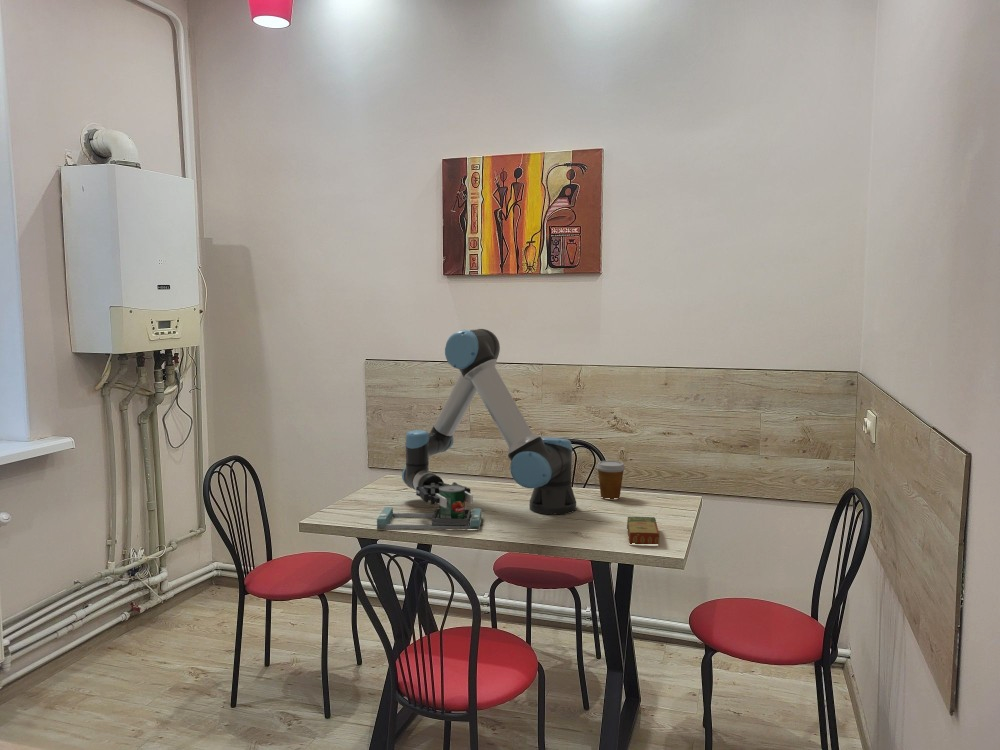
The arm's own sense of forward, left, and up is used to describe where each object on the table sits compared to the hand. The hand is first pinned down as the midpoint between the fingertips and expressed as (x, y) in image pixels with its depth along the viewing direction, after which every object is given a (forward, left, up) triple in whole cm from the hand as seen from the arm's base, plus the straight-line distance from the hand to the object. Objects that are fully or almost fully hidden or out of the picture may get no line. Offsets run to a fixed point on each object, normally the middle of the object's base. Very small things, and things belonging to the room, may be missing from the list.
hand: (458, 501), depth 226 cm
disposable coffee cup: (-49, -36, -8) cm, 61 cm away
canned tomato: (+2, -4, -8) cm, 9 cm away
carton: (-53, +6, -9) cm, 54 cm away
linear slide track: (+9, -4, -8) cm, 13 cm away
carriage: (+2, -4, -7) cm, 8 cm away
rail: (+9, -4, -8) cm, 13 cm away
